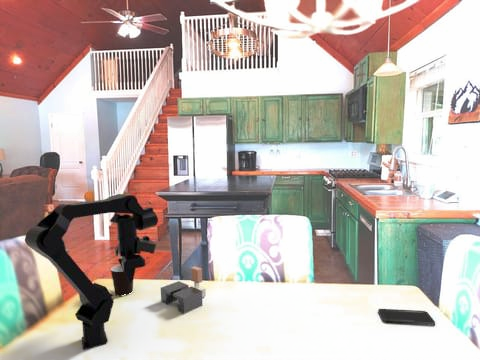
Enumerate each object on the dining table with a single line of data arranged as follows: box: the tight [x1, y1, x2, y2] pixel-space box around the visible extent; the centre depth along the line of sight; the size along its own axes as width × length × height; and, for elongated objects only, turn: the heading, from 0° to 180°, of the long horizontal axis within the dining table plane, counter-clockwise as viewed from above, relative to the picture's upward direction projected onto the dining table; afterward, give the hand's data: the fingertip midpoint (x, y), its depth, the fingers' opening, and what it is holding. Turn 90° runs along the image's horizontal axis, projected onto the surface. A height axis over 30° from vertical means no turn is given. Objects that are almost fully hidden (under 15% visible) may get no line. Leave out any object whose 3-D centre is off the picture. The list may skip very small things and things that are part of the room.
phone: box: [377, 308, 436, 326], centre depth 105 cm, size 8×1×15 cm
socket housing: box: [160, 281, 204, 315], centre depth 119 cm, size 8×14×5 cm, turn 47°
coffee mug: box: [110, 264, 134, 296], centre depth 131 cm, size 12×9×10 cm
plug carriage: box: [190, 266, 207, 299], centre depth 122 cm, size 10×5×11 cm, turn 137°
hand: (131, 281), depth 106 cm, fingers closed
